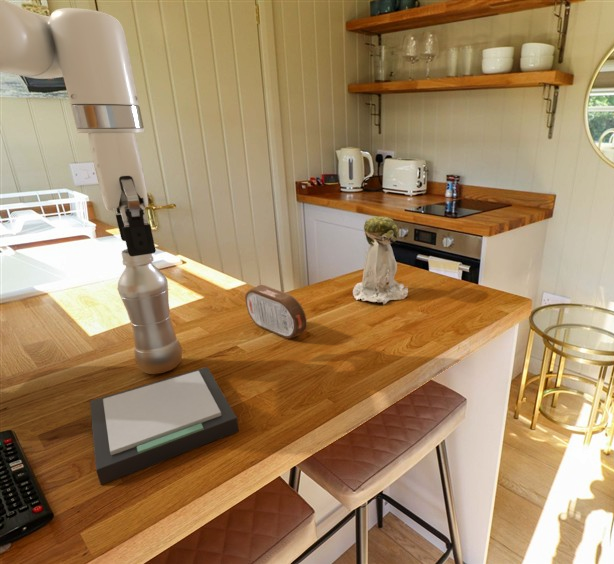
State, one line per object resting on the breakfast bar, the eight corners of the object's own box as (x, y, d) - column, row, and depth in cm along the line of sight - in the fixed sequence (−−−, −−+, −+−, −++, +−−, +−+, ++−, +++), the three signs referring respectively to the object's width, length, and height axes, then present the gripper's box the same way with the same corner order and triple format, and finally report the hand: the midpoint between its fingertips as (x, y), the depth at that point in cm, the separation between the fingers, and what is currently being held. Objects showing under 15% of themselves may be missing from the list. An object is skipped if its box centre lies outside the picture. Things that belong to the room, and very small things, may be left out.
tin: (309, 339, 79) (306, 297, 76) (296, 346, 76) (292, 303, 73) (258, 318, 87) (254, 279, 84) (245, 323, 84) (240, 284, 81)
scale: (100, 485, 47) (94, 465, 46) (93, 414, 58) (88, 397, 57) (239, 431, 55) (236, 413, 54) (209, 378, 66) (206, 363, 65)
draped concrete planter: (342, 292, 100) (339, 216, 94) (385, 280, 108) (385, 209, 102) (371, 308, 92) (370, 225, 85) (416, 294, 100) (417, 217, 93)
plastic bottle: (193, 364, 70) (171, 248, 63) (152, 384, 64) (123, 259, 57) (170, 353, 73) (147, 241, 66) (129, 371, 68) (100, 251, 61)
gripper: (73, 121, 60) (103, 238, 66) (75, 120, 47) (112, 266, 53) (134, 121, 64) (157, 231, 70) (152, 121, 51) (178, 256, 57)
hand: (138, 246), depth 62 cm, fingers open, 9 cm apart
